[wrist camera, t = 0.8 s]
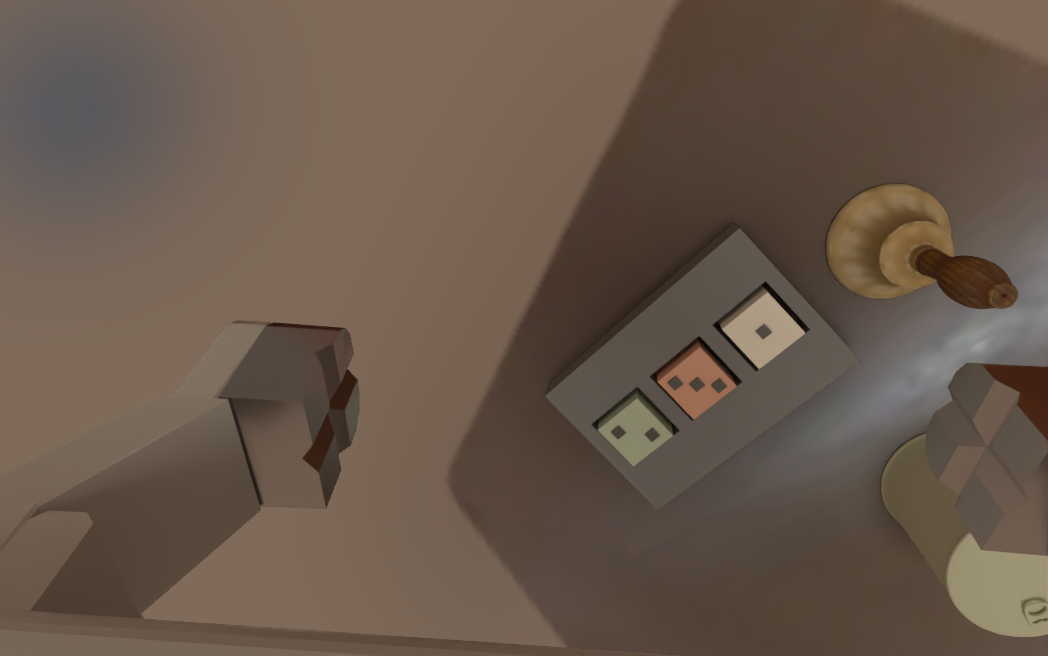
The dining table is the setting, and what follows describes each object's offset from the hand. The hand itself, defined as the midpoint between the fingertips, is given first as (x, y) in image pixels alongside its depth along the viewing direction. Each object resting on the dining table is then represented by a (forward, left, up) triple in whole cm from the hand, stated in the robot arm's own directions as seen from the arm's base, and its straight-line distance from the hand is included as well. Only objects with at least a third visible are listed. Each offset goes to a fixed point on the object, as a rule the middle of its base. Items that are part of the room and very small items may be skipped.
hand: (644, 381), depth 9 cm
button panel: (-14, +6, -42) cm, 44 cm away
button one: (-14, 0, -40) cm, 42 cm away
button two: (-14, +12, -40) cm, 44 cm away
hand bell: (-16, -10, -42) cm, 46 cm away
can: (-34, -2, -42) cm, 54 cm away
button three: (-14, +6, -40) cm, 43 cm away
